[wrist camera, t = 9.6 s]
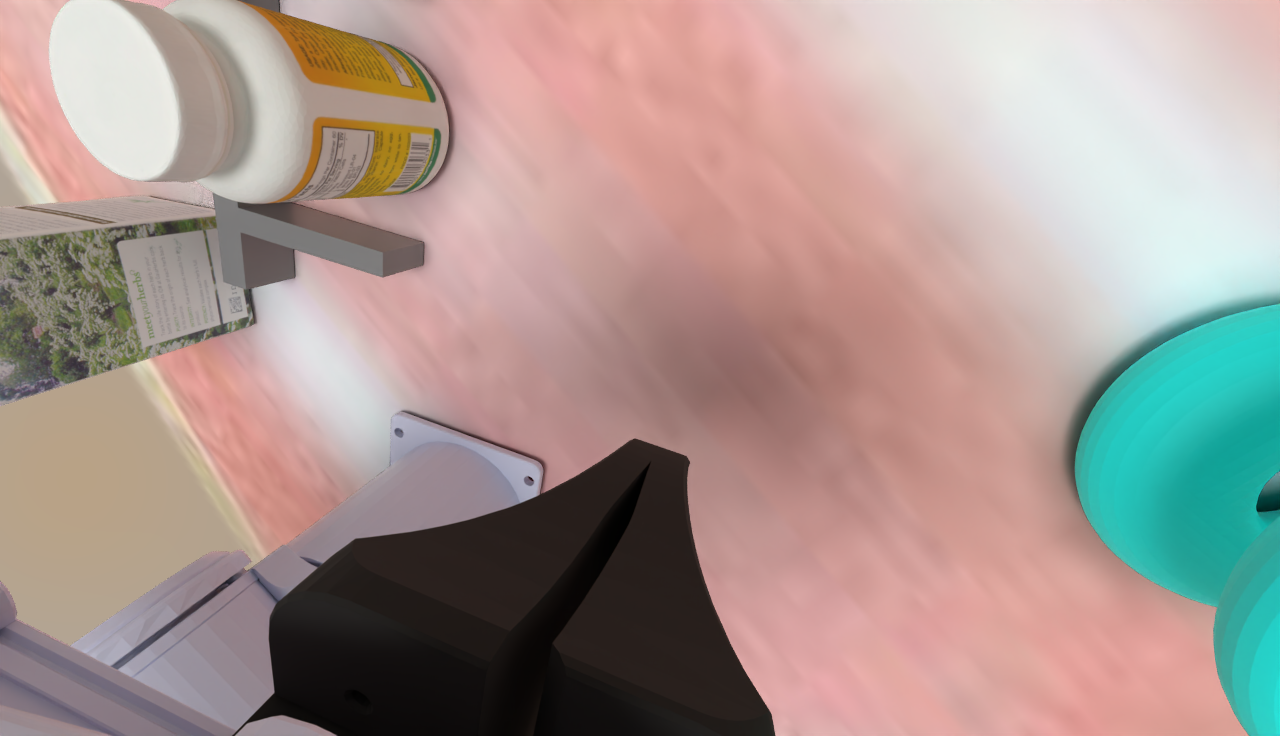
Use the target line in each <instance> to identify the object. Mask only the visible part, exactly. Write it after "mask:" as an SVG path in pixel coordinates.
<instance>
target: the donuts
mask: <svg viewBox="0 0 1280 736" xmlns="http://www.w3.org/2000/svg"><path fill="white" fill-rule="evenodd" d="M1279 471H1280V304H1276V305H1270V306H1265V307H1259V308H1255V309H1251V310H1247V311H1243V312H1239V313H1236V314H1232V315H1229V316H1226V317H1222V318H1219V319H1217V320H1214V321H1211V322H1209V323H1206V324H1203V325H1201V326H1199V327H1196V328H1194V329H1191V330H1189V331H1187V332H1185V333H1183V334H1181V335H1178V336H1176V337H1175V338H1173V339H1171V340H1169V341H1167V342H1165V343H1163V344H1162V345H1160V346H1158V347H1157V348H1155V349H1153V350H1152V351H1150V352H1149V353H1148V354H1146V355H1145V356H1143V357H1142V358H1140V359H1139V360H1138V361H1137V362H1135V363H1134V364H1133V365H1131V366H1130V367H1129V368H1128V369H1127V370H1126V371H1125V372H1123V373H1122V374H1121V375H1120V376H1119V377H1118V378H1117V379H1116V380H1115V381H1114V382H1113V383H1112V385H1111V386H1110V387H1109V388H1108V389H1107V390H1106V391H1105V393H1104V394H1103V395H1102V397H1101V398H1100V399H1099V400H1098V402H1097V403H1096V405H1095V407H1094V408H1093V410H1092V411H1091V413H1090V415H1089V417H1088V419H1087V421H1086V423H1085V426H1084V428H1083V430H1082V433H1081V436H1080V439H1079V442H1078V446H1077V451H1076V457H1075V480H1076V486H1077V491H1078V495H1079V499H1080V502H1081V505H1082V508H1083V511H1084V513H1085V515H1086V517H1087V519H1088V521H1089V522H1090V524H1091V526H1092V527H1093V529H1094V530H1095V531H1096V533H1097V534H1098V536H1099V537H1100V538H1101V540H1102V541H1103V542H1104V543H1105V544H1106V546H1107V547H1108V548H1109V549H1110V550H1111V551H1112V552H1113V553H1114V554H1115V555H1116V556H1117V557H1119V558H1120V559H1121V560H1122V561H1123V562H1125V563H1126V564H1127V565H1128V566H1130V567H1131V568H1132V569H1134V570H1135V571H1136V572H1138V573H1139V574H1141V575H1142V576H1144V577H1145V578H1147V579H1149V580H1150V581H1152V582H1154V583H1156V584H1158V585H1160V586H1162V587H1164V588H1166V589H1168V590H1170V591H1172V592H1175V593H1177V594H1179V595H1181V596H1184V597H1186V598H1189V599H1191V600H1194V601H1197V602H1200V603H1203V604H1207V605H1211V606H1214V607H1217V611H1216V615H1215V622H1214V629H1213V634H1214V652H1215V661H1216V667H1217V672H1218V676H1219V679H1220V682H1221V685H1222V688H1223V690H1224V692H1225V694H1226V697H1227V699H1228V701H1229V703H1230V705H1231V707H1232V710H1233V712H1234V714H1235V715H1236V717H1237V719H1238V720H1239V722H1240V724H1241V725H1242V727H1243V728H1244V729H1245V731H1246V732H1247V733H1248V735H1249V736H1280V510H1276V511H1267V512H1257V510H1256V505H1257V501H1258V496H1259V494H1260V493H1261V491H1262V489H1263V487H1264V486H1265V484H1266V483H1267V482H1268V481H1269V480H1270V479H1271V478H1272V477H1273V476H1274V475H1275V474H1276V473H1277V472H1279Z"/></svg>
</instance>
